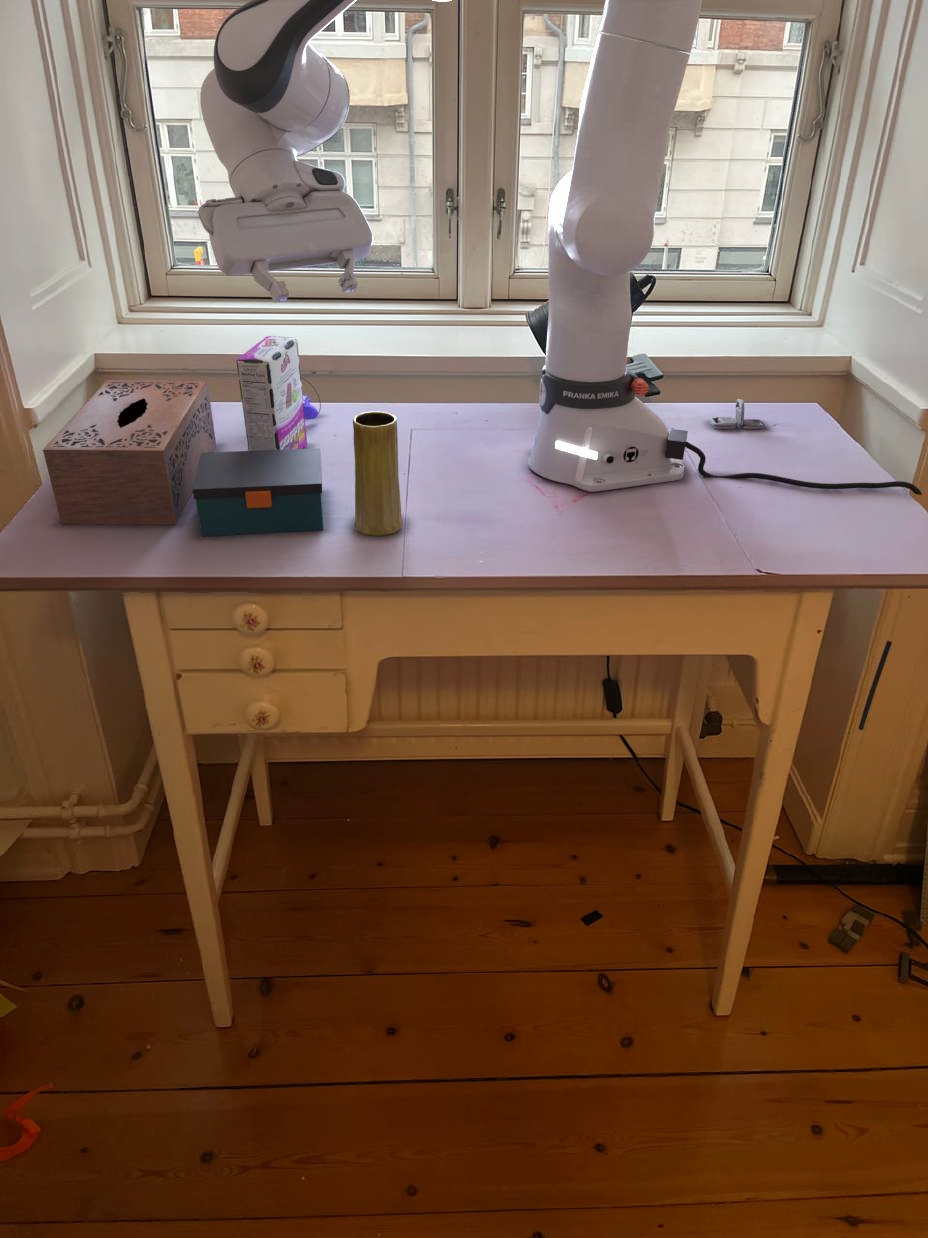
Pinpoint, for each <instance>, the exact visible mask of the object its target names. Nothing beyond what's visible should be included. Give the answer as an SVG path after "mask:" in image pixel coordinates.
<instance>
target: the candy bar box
mask: <svg viewBox="0 0 928 1238" xmlns="http://www.w3.org/2000/svg"><path fill="white" fill-rule="evenodd" d="M235 360H236V361H235V362H236V366H237V374H238V383H239V390H240V398H241V405H242V412H243V420H244V427H245V434H246V441H247V451H259V450H284V449H306V447H308V438H307V437H308V436H307V428H306V427H307V426H306V419H305V416H304V406H303V395H302V394H303V385H302V378H301V377H302V376H301V366H300V354H299V345H298V338H297V337H289V336H276V335H266V336H265V337H264V338H263V339H261V340H259V342H257V343H256V344H255V345H253V346H252V347H251V348H250V349H248V350H246V351H245V352H244V353H243V354H242V355H240V356H239V357H237V358H236V359H235Z"/></svg>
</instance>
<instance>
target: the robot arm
mask: <svg viewBox="0 0 928 1238" xmlns="http://www.w3.org/2000/svg"><path fill="white" fill-rule="evenodd" d="M356 1H357V0H249V1H248V2H246V3H245V4H243V5H241V6H240V7H238V8H237V9H235V10H234V11H232V13H230V14H228V16H227V17H226V18H225V20H224V21H223V22H222V23H221V25H220V27H219V29H218V32H217V33H216V37H215V40H214V46H213V67H214V68H212V70H211V71H209V72H208V74H207V75H206V76H205V78H204V80H203V82H202V84H201V87H200V94H199V103H200V105H199V106H200V111H201V112H200V113H201V116H202V119H203V122H204V126H205V129H206V132H207V134H208V137H209V140H210V143H211V144H212V147H213V149H214V152H215V154H216V157H217V158H218V160H219V162H220V163H221V164H222V165H223V167H224V168H225V169H226V171H227V176H228V177H227V178H228V183H229V186H230V189H231V191H232V193H233V196H234V197H233V196H232V197H226V198H221V199H220V198H219V199H218V198H211V199H207V200H205V202H204V203H203V204H201V205H200V207H199V208H198V211H197V212H198V213H197V215H198V219H199V220H200V223H201V226H202V227H203V229H204V231H205V232H206V233H208V237H209V241H210V245H211V246H210V247H211V250H212V253H213V257H214V259H215V262H216V264H217V267H218V269H219V271H220V272H222V273H223V274H225V276H227V277H238V276H244V275H246V276H247V275H252V278H253V280H254V281H255V282H256V283H257V284H259V285H260V286H261V287H262V288H263V289H264V290H266V291H267V292H269V294H270V297H271V299H272V301H273V302H274V303H282V302H287V301H288V298H289V295H290V294H289V289H288V288H287V285H286V283H285V281H284V280H281V281H278V280H277V279H276V278H275V277H274V276H273V275H272V274H271V272H277V271H285V270H293V269H299V268H300V269H301V268H308V267H317V266H325V265H332V264H337V265H338V267H339V269H340V270H344V271H343V272H342V274H341V275H340V278H339V279H338V281H337V283H338V284H339V287H340V288H341V292H342V293H350V292H355V291H356V289H357V287H358V281H357V277H356V276H355V265H356V261H363V260H365V258H367V255H368V254H369V252H370V251H371V248H372V246H373V244H374V239H375V238H374V234H373V231H372V228H371V226H370V224H369V222H368V220H367V218H366V216H365V214H364V212H363V210H362V208H361V206H360V205H359V204H358V202H357V200H356V199H355V198H354V197H353V196H352V195H351V194H349V193H348V192H346V191H344V190H345V187H346V180H345V178H344V176H343V175H342V174H341V173H340V172H338V171H335V170H331V169H327V168H323V167H319V166H315V165H312V164H309V163H306V162H304V161H302V160H298V159H297V157H300V156H303V155H305V154H308V153H309V152H312V150H314V149H316V148H318V147H320V146H322V145H323V144H325V143H326V142H328V141H329V140H330V139H332V138H333V137H334V136H335V135H337V133H338V132H339V131H340V130H341V129H342V127H343V126H344V124H345V121H346V119H347V117H348V113H349V109H350V102H351V101H350V99H351V98H350V97H351V96H350V89H349V84H348V82H347V79H346V77H345V76H344V74H343V72H341V71H340V70H339V68H337V67H336V66H335V65H334V64H333V63H332V62H331V61H330V60H329V59H327V58H326V57H325V56H324V55H323V54H322V53H321V52H320V51H319V50H318V49H316V48H315V47H313V46H312V45H311V44H310V42H311V41H312V40H313V38H316V36H317V35H318V34H319V33H321V32H322V31H323V30H324V29H325V28H327V26H329V25H330V24H331V23H332V22H333V21H334V20H336V19H337V18H338V17H339V16H340V15H341V14H343V13H344V12H345V11H346V10H347V9H349V8H350V7H351V6H352V5H353V4H354V3H355V2H356ZM433 1H434V2H435V1H436V2H450V1H451V0H433ZM702 4H703V0H604V5H603V9H602V14H601V17H600V21H599V26H598V29H597V34H596V37H595V42H594V46H593V50H592V55H591V60H590V63H589V67H588V71H587V77H586V80H585V84H584V89H583V93H582V97H581V102H580V106H579V117H578V118H579V119H578V128H577V136H576V145H575V149H574V157H573V164H572V170H571V171H570V172H568V173H567V174H565V176H563V178H562V179H561V180H560V181H559V183H557V185H556V187H555V188H554V190H553V192H552V195H551V198H550V202H549V211H548V243H547V245H548V246H547V247H548V249H547V250H548V251H547V255H548V256H547V257H548V258H547V259H548V265H547V267H548V268H547V269H548V271H547V272H548V273H547V274H548V275H547V276H548V278H547V281H548V316H547V317H548V318H547V319H548V320H547V333H546V334H547V335H546V348H545V363H544V365H543V366H542V368H541V377H540V381H539V394H538V395H539V397H538V403H539V408H540V413H539V418H538V419H539V420H538V424H537V429H536V433H535V438H534V441H533V443H532V448H531V451H530V453H529V456H528V458H527V465H528V467H529V468H530V470H532V472H533V473H535V474H537V475H539V476H541V477H542V478H545V479H548V480H550V481H553V482H557V483H561V484H565V485H570V486H574V487H576V488H578V489H580V490H582V491H586V492H589V493H590V492H592V493H597V492H603V491H610V490H617V489H624V488H632V487H637V486H638V487H639V486H645V485H646V486H647V485H652V484H653V485H654V484H660V483H667V482H673V481H679V480H682V479H683V478H684V475H685V465H684V462H683V460H684V457H685V451H686V449H688V450H690V451H692V452H693V453H695V454H696V455H697V456H698V457H699V462H698V466H697V471H698V473H699V474H700V476H702V477H703V478H714V479H715V478H716V479H731V480H732V479H733V480H742V479H743V480H745V479H759V480H765V481H766V480H767V481H770V482H771V481H772V482H777V483H782V484H787V485H791V486H796V487H801V488H802V487H803V488H808V489H809V488H810V489H817V490H818V489H819V490H848V489H849V490H850V489H887V488H888V489H889V488H905V489H908V490H910V491H911V492H913V494H915V495H919V496H922V495H923V493H922V491H921V490H920V489H919V487H917V486H916V485H914V484H913V483H911V482H908V481H900V480H899V481H896V480H895V481H885V482H883V481H882V482H845V483H844V482H843V483H827V482H826V483H823V482H822V483H821V482H812V481H804V480H799V479H793V478H788V477H783V476H779V475H773V474H768V473H761V472H741V473H740V472H739V473H733V474H726V475H715V474H711V473H709V472H707V471H706V470H705V469H704V466H705V464H706V455H705V452H703V451H702V450H701V449H700V448H699V447H697V446H696V445H694V444H692V443H690V442H689V441H687V438H688V434H689V433H688V430H684V429H683V430H682V429H674V428H670V429H669V430H668V427H667V425H666V423H665V422H664V421H663V420H662V418H661V417H660V416H659V415H657V413H655V412H654V410H652V409H651V408H650V407H649V406H647V405H646V403H644V402H642V401H641V399H639V398H638V397H644V396H646V395H647V393H648V392H649V390H650V386H649V384H648V382H647V381H645V379H643V378H641V377H638V376H637V374H635V373H634V372H633V371H630V370H629V369H628V368H627V361H628V351H629V342H630V333H631V324H632V316H633V315H632V314H633V312H632V311H633V310H632V304H631V303H632V302H631V271H633V270H635V269H636V268H637V267H639V265H641V264H642V262H643V261H644V260H645V259H646V257H647V256H648V254H649V252H650V251H651V247H652V246H653V242H654V238H655V237H654V236H655V219H656V214H657V208H658V202H659V197H660V192H661V186H662V179H663V174H664V168H665V167H664V166H665V159H666V152H667V147H668V146H667V145H668V139H669V134H670V131H671V126H672V121H673V117H674V114H675V109H676V106H677V102H678V100H679V95H680V92H681V90H682V89H681V88H682V86H683V81H684V78H685V74H686V70H687V68H688V64H689V60H690V56H691V53H692V49H693V45H694V41H695V38H696V34H697V29H698V24H699V21H700V15H701V9H702ZM637 396H638V397H637ZM892 644H893V641H890V640H886V642H885V645H884V648H883V651H882V654H881V656H880V660H879V663H878V665H877V669H876V671H875V673H874V677H873V681H872V684H871V686H870V690H869V692H868V695H867V698H866V701H865V705H864V708H863V711H862V714H861V718H860V721H859V725H858V727H857V729H858V730H859V731H864V728H865V726H866V722H867V718H868V715H869V711H870V709H871V706H872V702H873V700H874V696H875V693H876V690H877V687H878V684H879V681H880V679H881V676H882V673H883V670H884V667H885V664H886V661H887V658H888V656H889V653H890V650H891V647H892Z"/></svg>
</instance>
